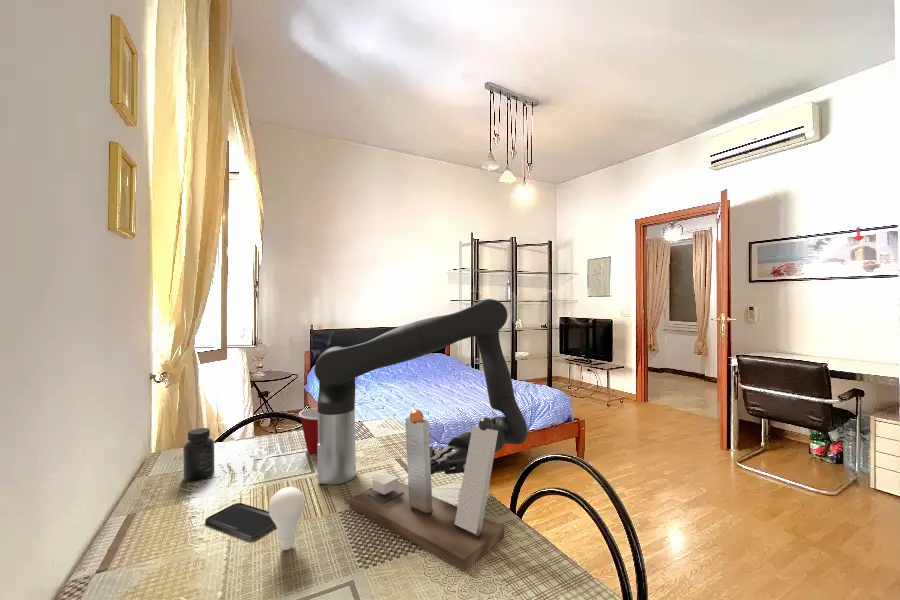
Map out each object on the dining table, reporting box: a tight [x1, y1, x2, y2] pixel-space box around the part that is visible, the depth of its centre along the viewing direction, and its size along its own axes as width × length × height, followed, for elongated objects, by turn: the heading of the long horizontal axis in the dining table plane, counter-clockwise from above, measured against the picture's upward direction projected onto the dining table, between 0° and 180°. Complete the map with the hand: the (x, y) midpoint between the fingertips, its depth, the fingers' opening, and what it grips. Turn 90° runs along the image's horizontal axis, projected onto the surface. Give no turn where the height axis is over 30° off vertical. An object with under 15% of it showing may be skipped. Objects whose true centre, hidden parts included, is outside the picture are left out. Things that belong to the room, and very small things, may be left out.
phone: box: [204, 502, 277, 542], centre depth 80 cm, size 8×1×15 cm
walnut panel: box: [348, 481, 505, 572], centre depth 79 cm, size 12×32×2 cm, turn 50°
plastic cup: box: [298, 407, 318, 455], centre depth 118 cm, size 11×11×12 cm
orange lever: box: [404, 409, 433, 515], centre depth 79 cm, size 3×6×21 cm, turn 50°
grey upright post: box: [454, 416, 498, 538], centre depth 74 cm, size 3×6×21 cm, turn 50°
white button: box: [371, 472, 399, 495], centre depth 86 cm, size 4×4×3 cm
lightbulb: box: [268, 486, 306, 551], centre depth 71 cm, size 6×6×11 cm
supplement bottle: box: [182, 427, 215, 483], centre depth 101 cm, size 7×7×12 cm
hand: (421, 472), depth 79 cm, fingers closed
